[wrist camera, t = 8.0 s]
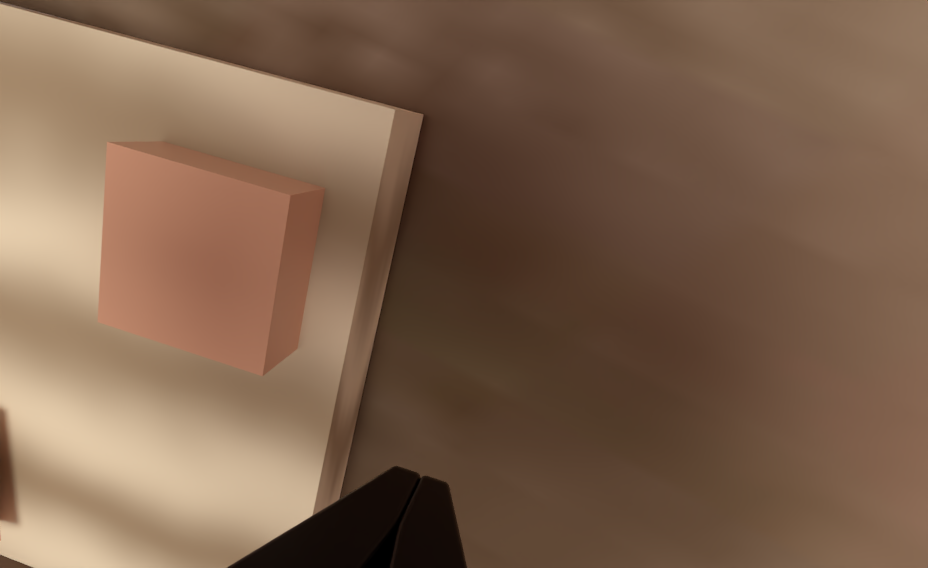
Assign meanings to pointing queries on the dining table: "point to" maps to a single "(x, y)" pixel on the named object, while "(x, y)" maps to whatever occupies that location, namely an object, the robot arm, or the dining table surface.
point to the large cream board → (156, 364)
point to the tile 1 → (206, 253)
